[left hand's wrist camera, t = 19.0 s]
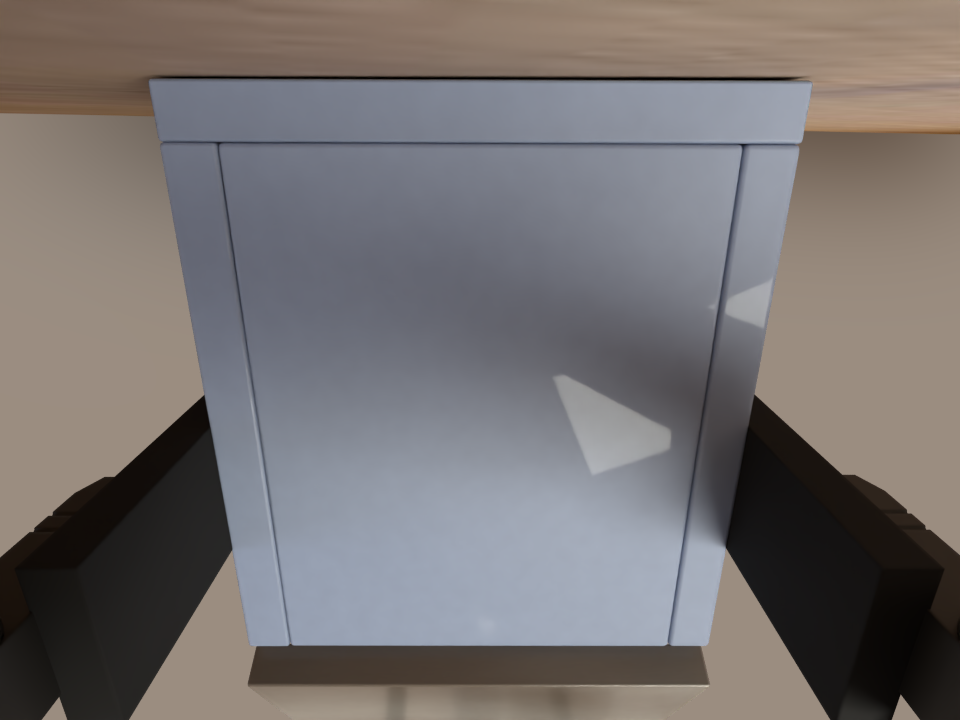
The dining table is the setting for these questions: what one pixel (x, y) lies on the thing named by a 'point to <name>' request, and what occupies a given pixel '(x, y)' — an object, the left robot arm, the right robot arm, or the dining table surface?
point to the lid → (478, 682)
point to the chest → (479, 345)
